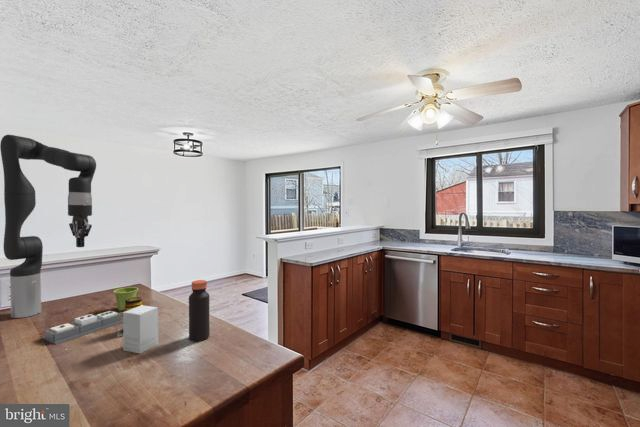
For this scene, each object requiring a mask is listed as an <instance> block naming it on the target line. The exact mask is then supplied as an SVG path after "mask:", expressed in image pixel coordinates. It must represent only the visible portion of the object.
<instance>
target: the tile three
mask: <svg viewBox="0 0 640 427" xmlns="http://www.w3.org/2000/svg"><path fill="white" fill-rule="evenodd" d="M116 312H117V311H114V312H113V310H108V311H105V312H102V313H98V314H96V315H97V317H98V318H101V319H105V318H109V317H112V316H115V315H117V313H118V312H117V313H116Z"/></svg>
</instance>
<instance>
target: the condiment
mask: <svg viewBox="0 0 640 427" xmlns="http://www.w3.org/2000/svg"><path fill="white" fill-rule="evenodd" d="M125 303H126V304H125V308H124V310H123V312H125V311H128V310H131V309H133V308H136V307H139V306H142V305H143V298H142V297H140V296H136V297H133V298H129V299H127V300H126V301H125ZM116 332H117V336H116V337H117V338H118V337H123V328H117V331H116Z"/></svg>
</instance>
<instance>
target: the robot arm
mask: <svg viewBox="0 0 640 427" xmlns="http://www.w3.org/2000/svg"><path fill="white" fill-rule="evenodd" d="M0 156H1V162H2V163H1V164H2V170H3V183H4V184H3V185H4V186H3V188H4V192H3V193H4V194H3V195H4V196H3V197H4V202H3V203H4V212H5V213H4V215H5V216H4V217H5V218H4V219H5V221H4V222H5V225H4V236H3V254H4V256H5V258H6V259H7V260H10V261H13V260H14V261H15V260H24V261H23V262H22V263H21V264H18V265H17V266H14V267H12V268H11V269H10V270H9V275H10V276H9V279H10V280H9V281H10V282H9V284H10V285H9V286H10V290H9V291H10V318H12V319H22V318H27V317H28V318H29V317H31V316H36V315H38V313H39V314H40V313H41V312H42V282H41V281H42V278H41V275H42V274H41V270H42V266H43V249H44V246H43V241H42V239H41V238H40V237H39V236H36V235H29V236H21V230H22V227H23V224H24V223H25V222H26V220H27V219H28V217H29V216H30V215H31V213H32V212H33V211H34V210H35V207H36V204H37V203H36V202H37V200H36V190H35V187H34V186H33V184H32V183H31V182H30V181H29V179H28V178H27V177H26V176H25V174H24V173H23V170H22V169H21V165H20V159H21V160H36V161H37V160H38V161H44V162H45V163H48V164H50V165H53V166H57V167H60V168H63V169H64V170H67V171H71V172H79V174H78V176H75V177H70V178H69V179H68V195H67V216H69V217H72V218H71V219H72V220H71V223H69V224H68V226H69V228H70V230H71V234H72V236H73V237H74V238H75V247H76V248H84V247H85V239H86V237H88V236H89V235H90V232H91V229H92V227H93V226H92V225H93V224H89V217H91V216H93V197H92V181H93V178H94V175H95V172H96V170H97V161H96V160H95V158H94V157H93V156H92V155H89V154H83V153H77V152H71V151H68V150H66V149H61V148H59V147H54V146H48V145H46V144H43V143H41V142H39V141H37V140H35V139H32V138H30V137H24V136H20V135H14V134H13V135H12V134H6V135H4V136H3V137H2V138H1V140H0Z"/></svg>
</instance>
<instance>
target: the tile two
mask: <svg viewBox="0 0 640 427" xmlns="http://www.w3.org/2000/svg"><path fill="white" fill-rule="evenodd" d="M95 321H97V316H96V315H93V314H91V313H90V314H86V315H82V316H79V317H75V318H74V322H75V324H77V325H80V326H82V325H85V324H89V323H92V322H95Z"/></svg>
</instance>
